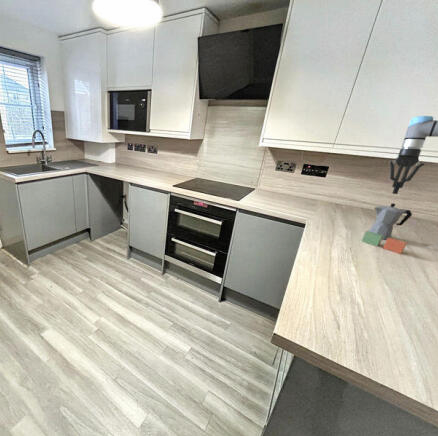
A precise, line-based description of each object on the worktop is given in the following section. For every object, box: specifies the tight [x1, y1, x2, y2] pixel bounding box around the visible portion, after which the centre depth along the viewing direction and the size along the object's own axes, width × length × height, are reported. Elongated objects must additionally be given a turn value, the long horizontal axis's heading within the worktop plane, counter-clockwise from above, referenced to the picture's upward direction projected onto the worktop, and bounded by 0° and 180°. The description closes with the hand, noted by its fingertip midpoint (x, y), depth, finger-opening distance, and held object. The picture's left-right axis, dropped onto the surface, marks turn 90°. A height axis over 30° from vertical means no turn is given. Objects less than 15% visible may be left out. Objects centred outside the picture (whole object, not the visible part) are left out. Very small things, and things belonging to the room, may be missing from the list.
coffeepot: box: [368, 202, 413, 241], centre depth 119 cm, size 15×9×18 cm, turn 72°
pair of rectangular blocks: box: [361, 230, 408, 255], centre depth 110 cm, size 14×3×5 cm, turn 33°
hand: (394, 193), depth 128 cm, fingers closed
